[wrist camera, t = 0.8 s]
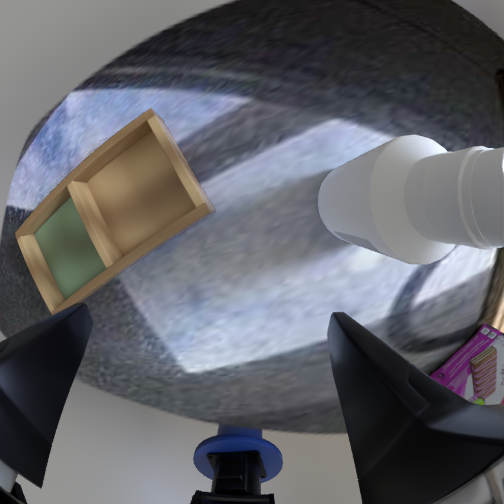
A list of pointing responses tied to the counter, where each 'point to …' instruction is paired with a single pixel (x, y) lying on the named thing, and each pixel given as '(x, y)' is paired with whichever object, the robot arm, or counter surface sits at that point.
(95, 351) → the counter surface
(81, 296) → the holder
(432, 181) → the spray bottle
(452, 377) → the candy bar box
